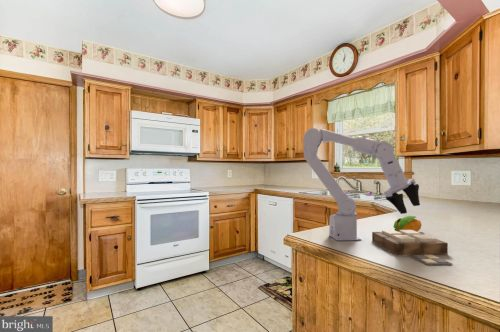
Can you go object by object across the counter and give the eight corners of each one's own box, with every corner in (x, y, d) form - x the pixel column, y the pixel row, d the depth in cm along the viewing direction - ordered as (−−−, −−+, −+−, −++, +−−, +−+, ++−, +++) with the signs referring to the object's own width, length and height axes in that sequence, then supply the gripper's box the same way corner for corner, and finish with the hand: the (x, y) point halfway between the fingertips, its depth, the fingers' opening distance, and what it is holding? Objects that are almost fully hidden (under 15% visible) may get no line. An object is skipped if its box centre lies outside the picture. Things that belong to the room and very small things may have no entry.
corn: (389, 217, 96) (408, 211, 109) (388, 236, 97) (407, 228, 110) (411, 221, 91) (428, 214, 104) (410, 242, 91) (427, 233, 104)
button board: (396, 255, 76) (396, 243, 76) (372, 241, 90) (372, 232, 90) (447, 254, 77) (447, 243, 77) (415, 241, 91) (415, 231, 91)
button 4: (421, 245, 78) (421, 238, 78) (411, 240, 83) (411, 234, 83) (435, 244, 79) (435, 238, 79) (424, 240, 83) (424, 234, 83)
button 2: (401, 245, 78) (401, 238, 78) (392, 241, 82) (392, 235, 82) (415, 245, 78) (415, 238, 78) (406, 241, 83) (405, 234, 83)
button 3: (407, 239, 85) (407, 233, 85) (399, 235, 89) (399, 230, 89) (420, 239, 85) (420, 233, 85) (411, 235, 89) (411, 229, 89)
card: (427, 265, 69) (427, 263, 69) (410, 256, 76) (410, 254, 76) (452, 265, 69) (452, 262, 69) (432, 256, 76) (432, 254, 76)
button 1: (389, 239, 84) (389, 233, 84) (381, 235, 89) (381, 230, 89) (402, 239, 85) (402, 233, 85) (393, 235, 89) (393, 230, 89)
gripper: (390, 177, 84) (408, 215, 82) (416, 164, 90) (433, 200, 88) (373, 181, 90) (390, 217, 89) (398, 169, 96) (414, 203, 95)
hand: (410, 209), depth 89 cm, fingers open, 7 cm apart
